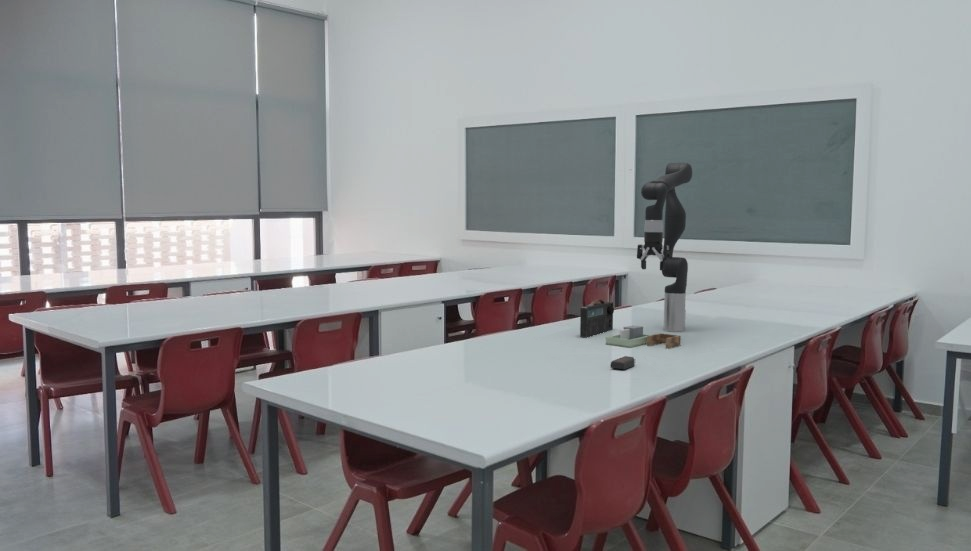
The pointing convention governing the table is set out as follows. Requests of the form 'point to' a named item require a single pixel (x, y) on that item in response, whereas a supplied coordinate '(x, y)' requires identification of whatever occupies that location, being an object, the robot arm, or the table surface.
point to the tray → (626, 341)
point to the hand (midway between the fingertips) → (652, 269)
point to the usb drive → (623, 362)
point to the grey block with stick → (631, 332)
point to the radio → (596, 318)
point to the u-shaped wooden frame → (664, 340)
